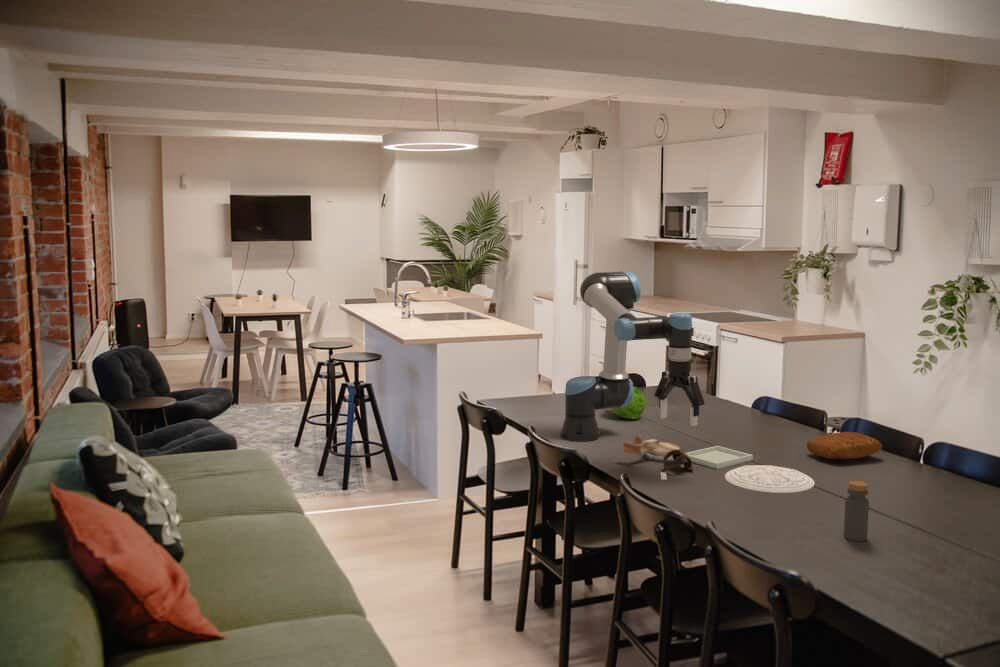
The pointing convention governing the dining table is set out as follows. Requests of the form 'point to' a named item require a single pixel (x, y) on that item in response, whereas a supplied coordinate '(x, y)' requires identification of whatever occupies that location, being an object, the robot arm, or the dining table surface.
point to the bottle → (856, 512)
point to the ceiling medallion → (769, 479)
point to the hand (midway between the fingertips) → (678, 421)
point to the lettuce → (632, 406)
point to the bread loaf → (844, 445)
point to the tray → (718, 457)
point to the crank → (649, 446)
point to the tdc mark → (663, 476)
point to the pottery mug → (677, 460)
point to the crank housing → (658, 457)
